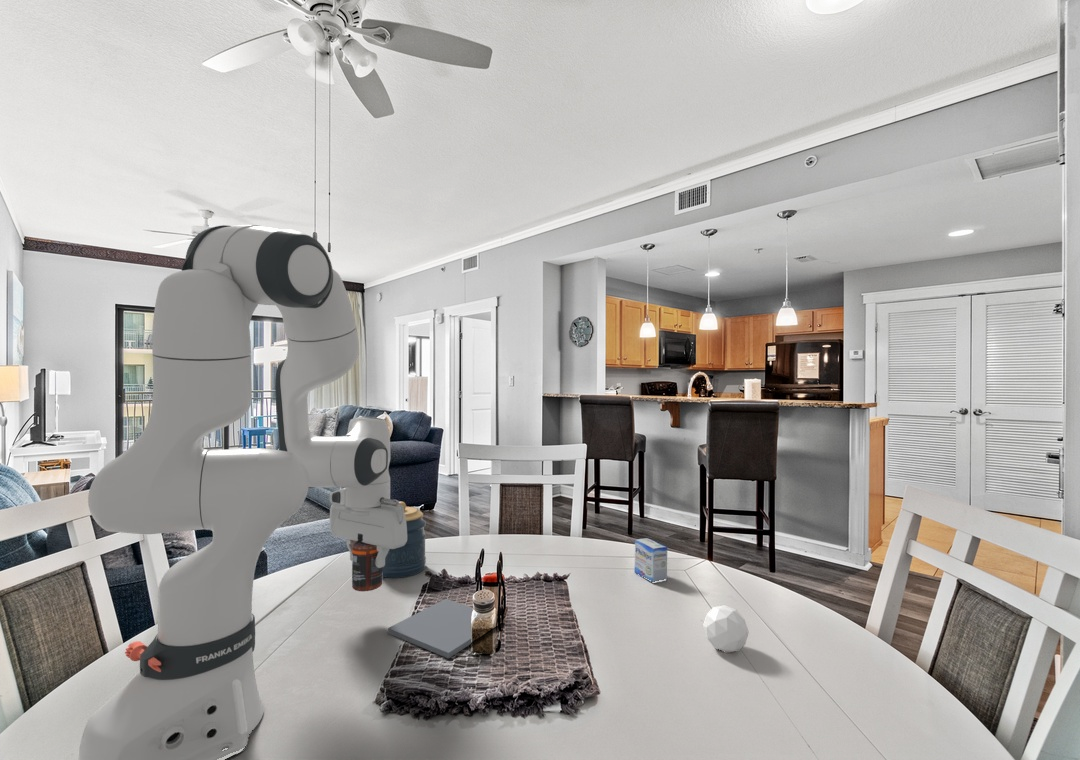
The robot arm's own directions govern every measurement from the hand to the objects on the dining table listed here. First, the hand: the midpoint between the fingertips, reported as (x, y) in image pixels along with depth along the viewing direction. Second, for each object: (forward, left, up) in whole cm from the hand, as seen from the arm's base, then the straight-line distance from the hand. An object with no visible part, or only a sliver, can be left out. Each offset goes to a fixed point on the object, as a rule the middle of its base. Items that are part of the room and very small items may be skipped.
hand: (367, 563), depth 103 cm
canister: (+23, +16, -12) cm, 30 cm away
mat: (+7, -16, -12) cm, 21 cm away
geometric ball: (+30, -64, -12) cm, 72 cm away
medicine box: (+55, -40, -12) cm, 69 cm away
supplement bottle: (0, 0, -5) cm, 5 cm away
